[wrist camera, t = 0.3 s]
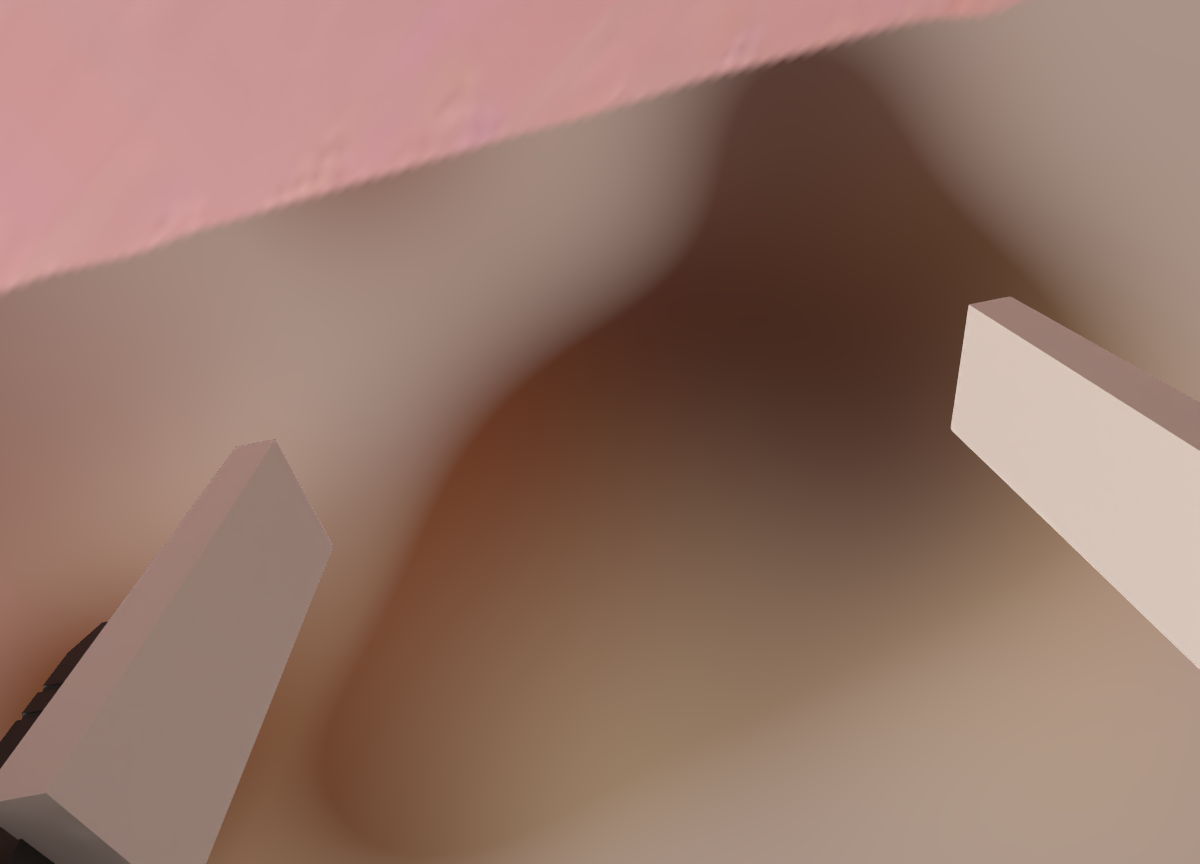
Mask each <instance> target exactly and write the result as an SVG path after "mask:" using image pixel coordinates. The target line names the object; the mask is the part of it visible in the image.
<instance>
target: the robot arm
mask: <svg viewBox="0 0 1200 864" xmlns="http://www.w3.org/2000/svg"><path fill="white" fill-rule="evenodd" d="M951 430H952V431H953V432H954V433H955V434H956V435H957V436H958V437H959V438H960V439H961V440H962V441H963V442H964V443H966V445H967V446H969V447H970V448H971V449H972V450H973V451H974V452H975V453H976V454H977V455H978V456H979V457H980V458H981V459H982V460H983V461H984V462H985V463H986V464H987V465H988V466H989V467H990V468H991V469H992V470H993V471H994V472H995V473H996V474H998V475H999V476H1000V477H1001V478H1002V479H1003V480H1004V481H1005V482H1006V483H1007V484H1008V485H1009V486H1010V487H1011V488H1012V489H1013V490H1014V491H1015V492H1016V493H1017V494H1018V495H1019V496H1020V497H1021V498H1022V499H1023V500H1025V501H1026V502H1027V503H1028V504H1029V505H1030V506H1031V507H1032V508H1033V509H1034V510H1035V511H1036V512H1037V513H1038V514H1039V515H1040V516H1041V517H1042V518H1043V519H1044V520H1045V521H1046V522H1047V523H1048V524H1049V525H1051V526H1052V527H1053V528H1054V529H1055V530H1056V531H1057V532H1058V533H1059V534H1060V535H1061V536H1062V537H1063V538H1064V539H1065V540H1066V541H1067V542H1068V543H1069V544H1070V545H1071V546H1072V547H1073V548H1074V549H1075V550H1076V551H1077V552H1078V553H1079V554H1080V555H1082V556H1083V557H1084V558H1085V559H1086V560H1087V561H1088V562H1089V563H1090V564H1091V565H1092V566H1093V567H1094V568H1095V569H1096V570H1097V571H1098V572H1099V573H1100V574H1101V575H1102V576H1103V577H1104V578H1105V579H1106V580H1107V581H1109V582H1110V583H1111V584H1112V585H1113V586H1114V587H1115V588H1116V589H1117V590H1118V591H1119V592H1120V593H1121V594H1122V595H1123V596H1124V597H1125V598H1126V599H1127V600H1128V601H1129V602H1130V603H1131V604H1132V605H1133V606H1135V608H1137V609H1138V610H1139V611H1140V612H1141V613H1142V614H1143V615H1144V616H1145V617H1146V618H1147V619H1148V620H1149V621H1150V622H1151V623H1152V624H1153V625H1154V626H1155V627H1156V628H1157V629H1158V630H1159V631H1160V632H1161V633H1162V634H1163V635H1164V636H1166V637H1167V638H1168V639H1169V640H1170V641H1171V642H1172V643H1173V644H1174V645H1175V646H1176V647H1177V648H1178V649H1179V650H1180V651H1181V652H1182V653H1183V654H1184V655H1185V656H1186V657H1187V658H1188V659H1189V660H1190V661H1191V662H1193V663H1194V664H1195V665H1196V666H1197V667H1198V668H1199V669H1200V403H1199V402H1198V401H1196V400H1194V399H1192V398H1191V397H1189V396H1187V395H1185V394H1183V393H1181V392H1180V391H1178V390H1176V389H1174V388H1173V387H1171V386H1169V385H1167V384H1166V383H1164V382H1162V381H1160V380H1158V379H1157V378H1155V377H1153V376H1151V375H1150V374H1148V373H1146V372H1144V371H1142V370H1140V369H1139V368H1137V367H1135V366H1133V365H1132V364H1130V363H1128V362H1126V361H1125V360H1123V359H1121V358H1119V357H1117V356H1116V355H1114V354H1112V353H1110V352H1108V351H1106V350H1105V349H1103V348H1101V347H1100V346H1098V345H1096V344H1094V343H1092V342H1090V341H1089V340H1087V339H1085V338H1083V337H1082V336H1080V335H1078V334H1076V333H1075V332H1073V331H1071V330H1069V329H1067V328H1066V327H1064V326H1062V325H1060V324H1059V323H1057V322H1055V321H1053V320H1051V319H1050V318H1048V317H1046V316H1044V315H1042V314H1040V313H1039V312H1037V311H1035V310H1034V309H1032V308H1030V307H1028V306H1026V305H1025V304H1023V303H1021V302H1019V301H1017V300H1016V299H1014V298H1012V297H1006V298H1000V299H995V300H990V301H986V302H980V303H975V304H970V305H969V308H968V314H967V321H966V328H965V335H964V341H963V348H962V355H961V362H960V369H959V376H958V382H957V389H956V396H955V403H954V411H953V417H952V424H951ZM332 547H333V545H332V544H331V542H330V540H329V538H328V536H327V534H326V532H325V530H324V528H323V527H322V525H321V523H320V521H319V519H318V517H317V516H316V514H315V512H314V510H313V508H312V506H311V504H310V502H309V501H308V499H307V497H306V495H305V493H304V491H303V490H302V488H301V486H300V484H299V482H298V480H297V479H296V476H295V475H294V473H293V471H292V469H291V467H290V465H289V464H288V462H287V460H286V458H285V456H284V454H283V452H282V451H281V449H280V447H279V445H278V443H277V441H276V439H273V440H268V441H262V442H257V443H253V444H248V445H242V446H237V447H236V448H235V449H234V450H233V451H232V453H231V454H230V456H229V457H228V458H227V460H226V461H225V462H224V464H223V466H222V467H221V468H220V469H219V471H218V472H217V473H216V475H215V476H214V477H213V479H212V480H211V482H210V483H209V484H208V486H207V487H206V488H205V490H204V491H203V492H202V494H201V495H200V497H199V498H198V500H197V501H196V502H195V504H194V505H193V506H192V508H191V509H190V510H189V512H188V513H187V514H186V516H185V517H184V518H183V520H182V521H181V523H180V524H179V526H178V527H177V528H176V529H175V531H174V532H173V534H172V535H171V536H170V538H169V539H168V540H167V542H166V543H165V544H164V546H163V547H162V549H161V550H160V552H159V553H158V554H157V556H156V557H155V558H154V560H153V561H152V562H151V564H150V565H149V566H148V568H147V569H146V571H145V572H144V573H143V575H142V576H141V577H140V579H139V580H138V581H137V583H136V584H135V586H134V587H133V588H132V590H131V591H130V592H129V594H128V595H127V597H126V598H125V599H124V601H123V602H122V603H121V605H120V606H119V607H118V609H117V610H116V611H115V613H114V614H113V616H112V617H111V618H110V620H109V621H108V622H103V623H101V624H100V625H99V626H98V627H97V628H96V629H94V630H93V631H92V632H91V633H90V634H89V635H88V636H86V637H85V638H84V639H83V640H82V641H81V642H80V643H79V644H77V645H76V646H75V647H74V648H73V649H72V650H71V651H69V652H68V653H67V655H66V656H65V657H64V659H63V660H62V661H61V663H60V664H59V665H58V666H57V668H56V669H55V670H54V672H53V673H52V674H51V676H50V677H49V678H48V680H47V681H46V682H45V684H44V685H43V688H44V689H43V692H39V693H37V694H36V696H35V697H34V698H33V699H32V701H31V702H30V703H29V705H28V706H27V707H26V709H25V710H24V711H23V713H22V715H23V718H22V720H18V721H16V722H15V723H14V725H13V726H12V727H11V729H10V730H9V731H8V732H7V734H6V735H5V736H4V738H3V739H2V740H1V742H0V864H206V862H207V860H208V857H209V855H210V852H211V850H212V847H213V845H214V842H215V840H216V837H217V835H218V832H219V830H220V827H221V825H222V822H223V820H224V817H225V815H226V812H227V810H228V807H229V805H230V802H231V800H232V797H233V795H234V792H235V790H236V787H237V785H238V782H239V780H240V777H241V775H242V772H243V770H244V767H245V765H246V762H247V760H248V757H249V755H250V752H251V750H252V747H253V745H254V742H255V740H256V737H257V735H258V732H259V730H260V727H261V725H262V722H263V720H264V717H265V715H266V712H267V710H268V707H269V705H270V702H271V700H272V697H273V695H274V692H275V690H276V687H277V685H278V682H279V680H280V677H281V675H282V672H283V670H284V667H285V665H286V662H287V660H288V657H289V655H290V653H291V650H292V647H293V645H294V642H295V640H296V638H297V635H298V633H299V630H300V628H301V625H302V623H303V620H304V618H305V615H306V612H307V610H308V608H309V605H310V602H311V600H312V598H313V595H314V592H315V590H316V587H317V585H318V582H319V580H320V578H321V575H322V573H323V570H324V568H325V565H326V563H327V560H328V558H329V555H330V552H331V550H332Z"/></svg>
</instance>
